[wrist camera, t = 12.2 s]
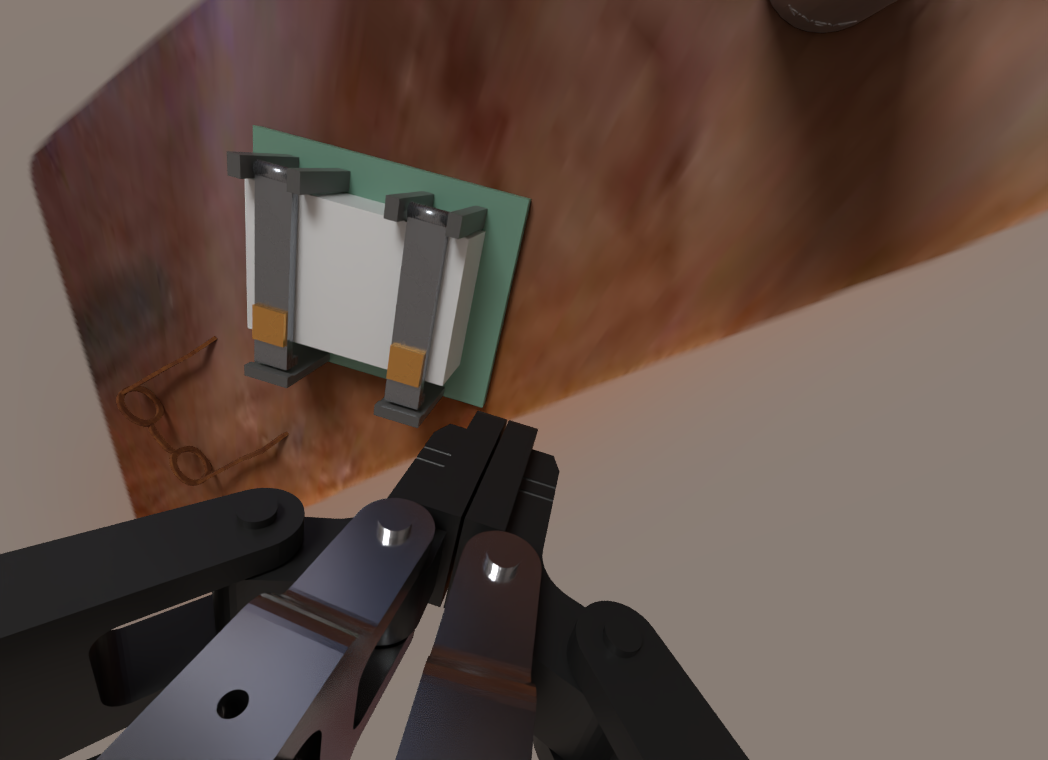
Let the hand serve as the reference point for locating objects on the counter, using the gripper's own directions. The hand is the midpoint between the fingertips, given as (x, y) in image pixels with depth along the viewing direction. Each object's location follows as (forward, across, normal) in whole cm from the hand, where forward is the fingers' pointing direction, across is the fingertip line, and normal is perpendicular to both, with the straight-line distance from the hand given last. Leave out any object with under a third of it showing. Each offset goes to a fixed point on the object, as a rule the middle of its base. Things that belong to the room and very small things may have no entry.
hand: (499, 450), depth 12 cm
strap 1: (+26, +23, +7) cm, 36 cm away
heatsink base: (+31, +18, +7) cm, 37 cm away
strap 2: (+26, +11, +7) cm, 29 cm away
